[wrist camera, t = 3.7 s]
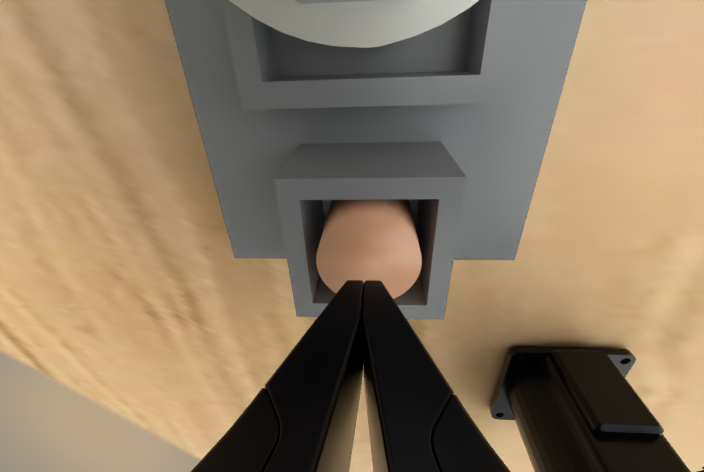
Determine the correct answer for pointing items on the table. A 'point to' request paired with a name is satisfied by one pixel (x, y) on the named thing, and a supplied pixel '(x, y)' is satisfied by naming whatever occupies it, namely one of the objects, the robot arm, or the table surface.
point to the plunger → (370, 244)
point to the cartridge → (353, 19)
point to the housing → (378, 132)
